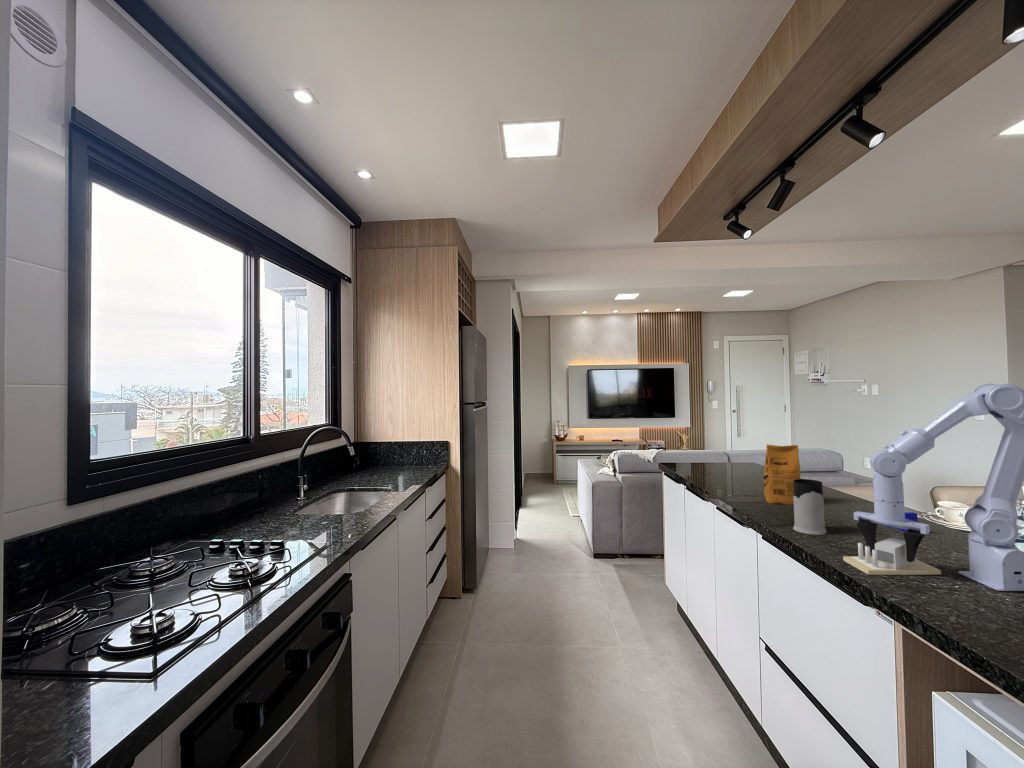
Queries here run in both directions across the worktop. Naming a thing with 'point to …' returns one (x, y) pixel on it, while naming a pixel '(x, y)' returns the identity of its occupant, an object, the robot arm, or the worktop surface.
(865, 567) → the board
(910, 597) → the worktop surface
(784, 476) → the coffee package
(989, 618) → the worktop surface
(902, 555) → the plug housing
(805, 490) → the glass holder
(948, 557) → the worktop surface
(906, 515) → the cable clip
